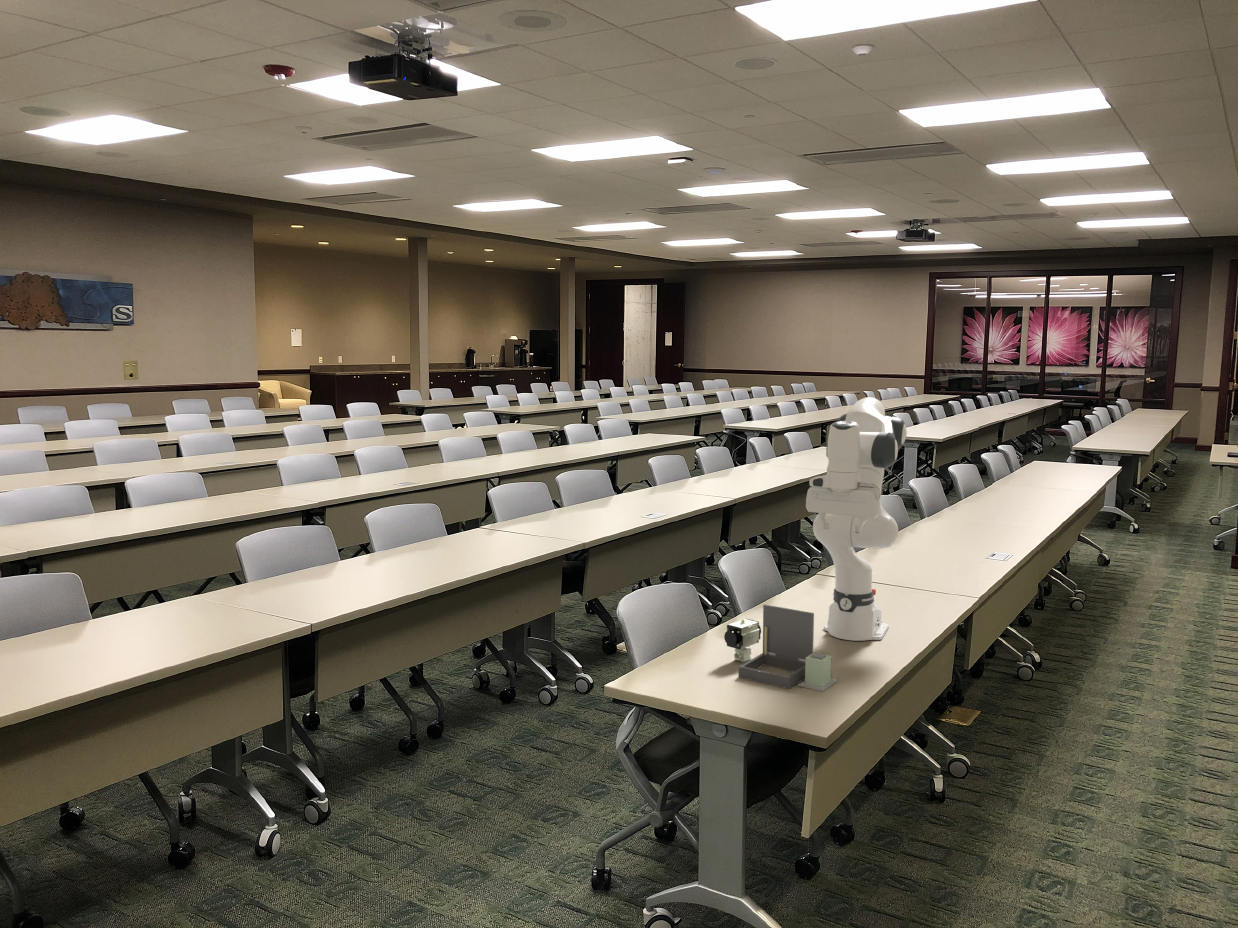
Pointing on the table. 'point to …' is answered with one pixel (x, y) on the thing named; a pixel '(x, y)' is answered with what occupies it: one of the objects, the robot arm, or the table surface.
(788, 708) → the table surface
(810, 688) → the pad
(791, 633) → the case
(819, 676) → the block
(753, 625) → the pneumatic valve
